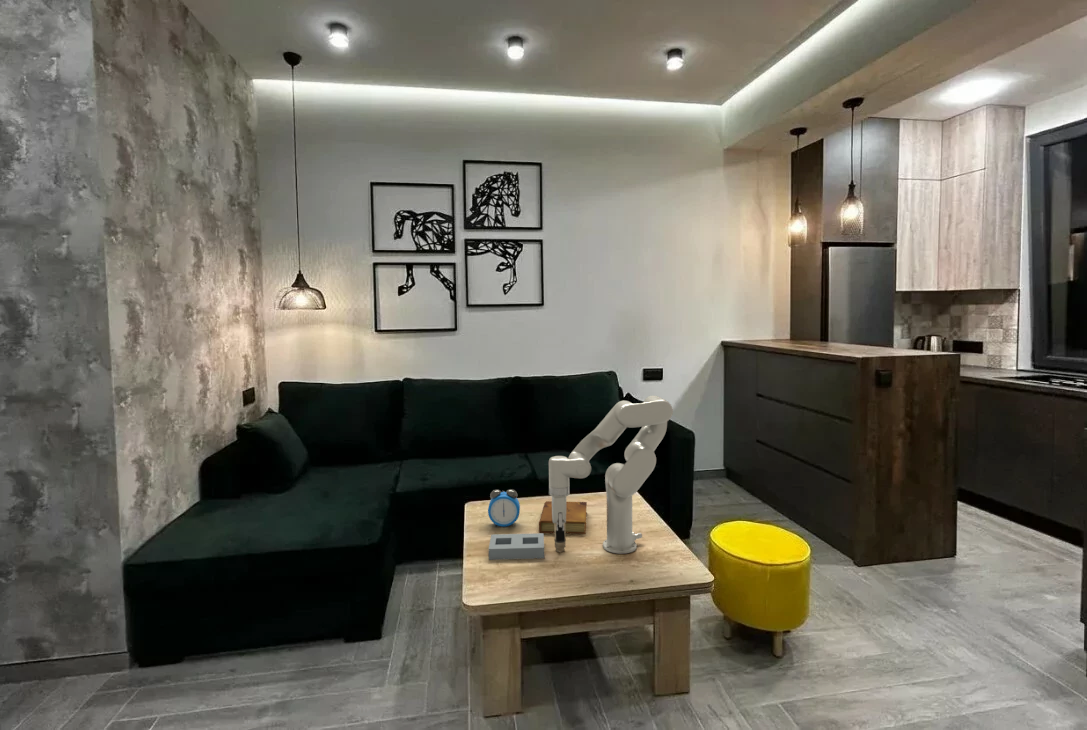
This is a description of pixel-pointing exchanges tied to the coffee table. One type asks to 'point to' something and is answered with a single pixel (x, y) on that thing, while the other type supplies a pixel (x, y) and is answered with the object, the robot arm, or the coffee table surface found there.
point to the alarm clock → (503, 507)
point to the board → (516, 546)
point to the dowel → (559, 544)
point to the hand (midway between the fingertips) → (560, 537)
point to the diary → (573, 518)
